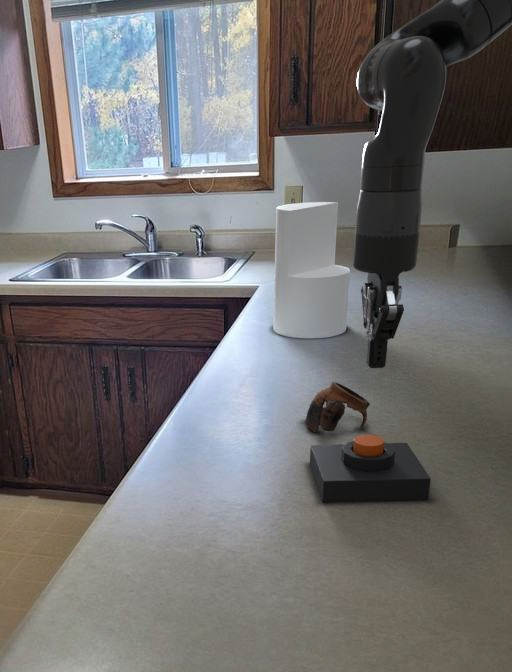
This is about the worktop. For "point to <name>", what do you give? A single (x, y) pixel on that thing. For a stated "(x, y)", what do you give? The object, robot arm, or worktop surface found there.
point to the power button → (368, 445)
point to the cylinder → (309, 272)
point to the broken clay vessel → (334, 407)
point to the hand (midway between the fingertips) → (375, 366)
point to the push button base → (368, 474)
